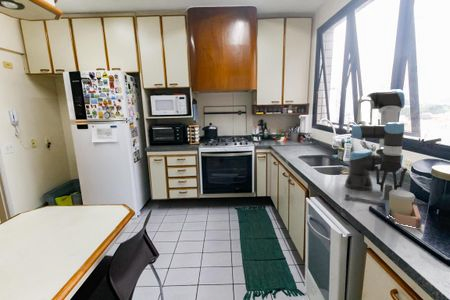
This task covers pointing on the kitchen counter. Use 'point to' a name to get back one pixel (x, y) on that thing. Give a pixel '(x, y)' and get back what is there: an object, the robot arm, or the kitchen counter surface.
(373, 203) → the rail
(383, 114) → the robot arm
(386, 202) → the pusher
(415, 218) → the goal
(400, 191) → the coffee cup
